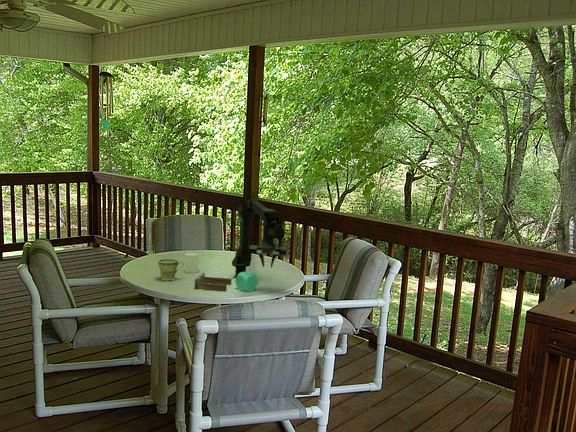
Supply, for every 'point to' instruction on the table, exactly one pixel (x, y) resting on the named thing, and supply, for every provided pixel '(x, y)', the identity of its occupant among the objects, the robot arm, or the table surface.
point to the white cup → (191, 262)
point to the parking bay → (211, 283)
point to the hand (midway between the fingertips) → (267, 267)
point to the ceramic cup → (168, 268)
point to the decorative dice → (246, 281)
